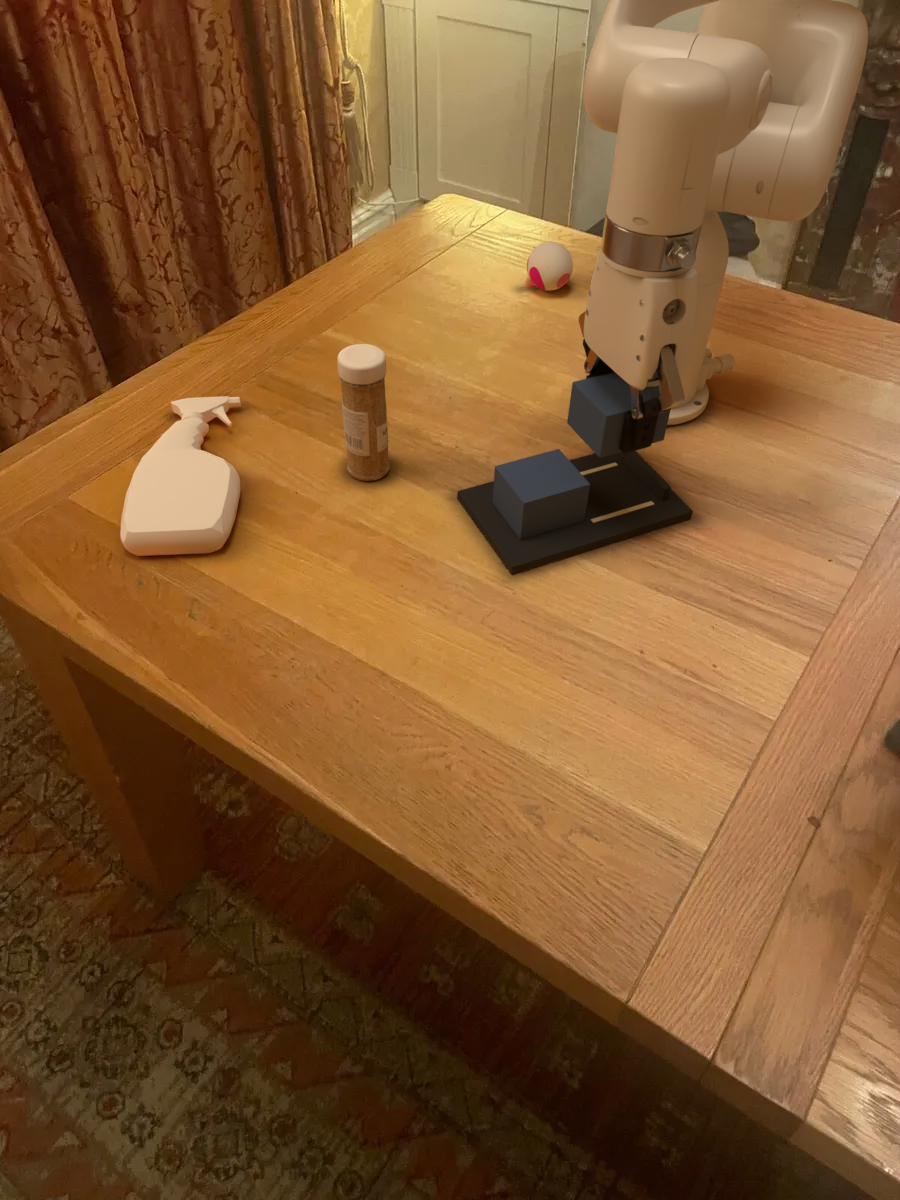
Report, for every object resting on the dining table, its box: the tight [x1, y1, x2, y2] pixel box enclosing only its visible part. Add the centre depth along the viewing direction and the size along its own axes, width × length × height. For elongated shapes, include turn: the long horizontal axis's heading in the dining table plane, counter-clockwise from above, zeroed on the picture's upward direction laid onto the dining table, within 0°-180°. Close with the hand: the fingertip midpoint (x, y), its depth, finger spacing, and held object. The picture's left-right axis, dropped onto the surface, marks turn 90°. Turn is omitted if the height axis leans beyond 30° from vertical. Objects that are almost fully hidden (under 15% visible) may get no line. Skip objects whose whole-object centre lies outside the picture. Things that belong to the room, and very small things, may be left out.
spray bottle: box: [119, 395, 242, 557], centre depth 92 cm, size 3×11×24 cm
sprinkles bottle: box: [336, 343, 391, 482], centre depth 89 cm, size 5×5×13 cm
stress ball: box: [521, 241, 574, 292], centre depth 121 cm, size 8×8×7 cm
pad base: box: [457, 448, 694, 575], centre depth 88 cm, size 20×12×6 cm, turn 114°
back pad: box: [566, 372, 671, 457], centre depth 84 cm, size 7×6×4 cm
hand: (615, 427), depth 85 cm, fingers closed on back pad, 6 cm apart
